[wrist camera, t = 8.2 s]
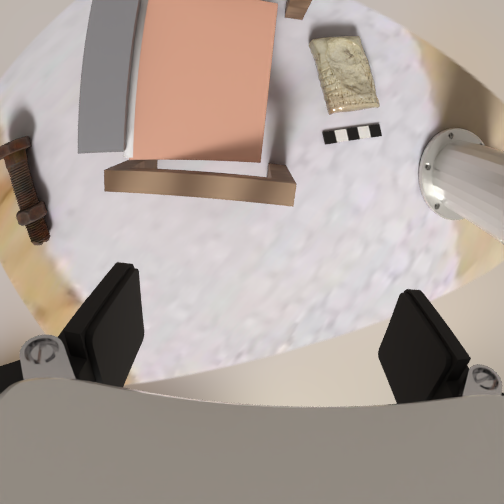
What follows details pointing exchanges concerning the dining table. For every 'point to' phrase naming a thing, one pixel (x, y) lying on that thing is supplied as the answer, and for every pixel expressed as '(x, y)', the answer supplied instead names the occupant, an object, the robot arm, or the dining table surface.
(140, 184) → the frame
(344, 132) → the cuneiform tablet
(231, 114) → the trapdoor
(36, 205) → the bolt
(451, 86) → the dining table surface
